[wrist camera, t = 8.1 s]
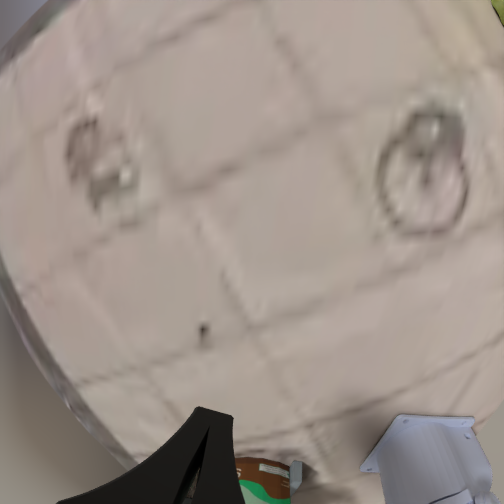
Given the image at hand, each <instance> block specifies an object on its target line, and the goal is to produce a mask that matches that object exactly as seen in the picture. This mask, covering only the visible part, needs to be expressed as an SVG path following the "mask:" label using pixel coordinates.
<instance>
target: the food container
mask: <svg viewBox="0 0 504 504" xmlns="http://www.w3.org/2000/svg"><path fill="white" fill-rule="evenodd" d="M235 464H236V469H237V474H238V478H239V483H240V486H241V490H242V493H243V497H244V500H245V503H246V504H291V500H290V478H289V466H287V465H285V464H282V463H280V462H276V461H272V460H268V459H264V458H253V457H240V458H235Z"/></svg>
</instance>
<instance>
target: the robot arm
mask: <svg viewBox="0 0 504 504" xmlns="http://www.w3.org/2000/svg"><path fill="white" fill-rule="evenodd" d="M233 419H234V418H233V417H232V416H231V415H228V414H224V413H221V412H217V411H213V410H210V409H206V408H203V407H200V406H199V407H196V408H195V409H194V411H193V413H192V414H191V415H190V417H189V418H188V419H187V421H186V422H185V423H184V424H183V425H182V426H181V428H180V429H179V430H178V431H177V432H176V433H175V434H174V435H173V436H172V437H171V438H170V439H169V440H168V441H167V442H166V443H165V444H164V445H163V446H161V447H160V448H159V449H158V450H157V451H156V452H154V453H153V454H152V455H151V456H150V457H148V458H147V459H146V460H144V461H143V462H142V463H140V464H139V465H137V466H136V467H134V468H133V469H131V470H130V471H128V472H127V473H125V474H123V475H122V476H120V477H118V478H116V479H115V480H113V481H111V482H109V483H107V484H104V485H102V486H100V487H98V488H95V489H93V490H91V491H89V492H86V493H83V494H80V495H77V496H74V497H71V498H68V499H64V500H61V501H58V502H57V503H56V504H183V502H184V500H185V498H186V495H187V493H188V491H189V489H190V487H191V485H192V482H193V480H194V478H195V476H196V473H197V471H198V469H199V467H200V470H199V474H198V479H197V484H196V489H195V493H194V496H193V499H192V502H191V504H246V503H245V500H244V497H243V493H242V490H241V486H240V483H239V478H238V474H237V469H236V464H235V457H234V449H233ZM406 419H407V420H406ZM404 420H405V421H404ZM474 422H475V419H474V417H440V416H420V415H405V414H401V415H398V416H397V417H396V418H395V419H394V421H393V422H392V424H391V425H390V427H389V428H388V430H387V431H386V433H385V434H384V435H383V437H382V438H381V440H380V441H379V442H378V444H377V445H376V447H375V448H374V449H373V451H372V452H371V453H370V455H369V456H368V457H367V459H366V460H365V461H364V462H363V464H362V465H361V466H360V471H361V472H378V473H380V477H381V482H382V488H383V493H384V498H385V503H386V504H501V503H500V501H499V499H498V498H497V497H496V496H495V494H494V493H493V492H489V491H490V488H491V484H492V469H491V465H490V463H489V461H488V459H487V457H486V455H485V453H484V451H483V449H482V448H481V446H480V444H479V442H478V440H477V438H476V436H475V434H474V432H473V431H472V429H471V426H472V425H473V424H474ZM200 464H201V465H200Z"/></svg>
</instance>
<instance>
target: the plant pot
mask: <svg viewBox="0 0 504 504" xmlns="http://www.w3.org/2000/svg"><path fill="white" fill-rule="evenodd" d="M491 2H492V5H493V7H494V8H495V9H496V10H497V12H498V14H499V16H500V19H501V22H502V24H503V25H504V0H491Z"/></svg>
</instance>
